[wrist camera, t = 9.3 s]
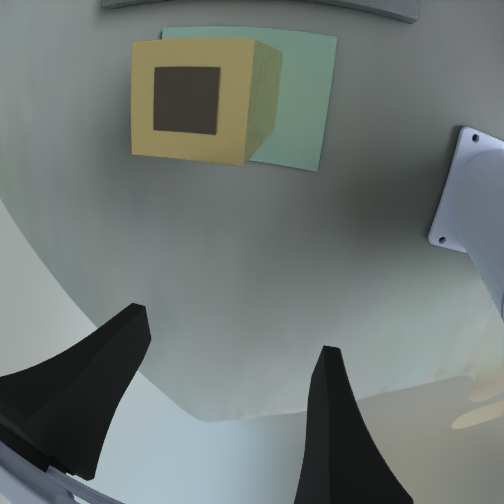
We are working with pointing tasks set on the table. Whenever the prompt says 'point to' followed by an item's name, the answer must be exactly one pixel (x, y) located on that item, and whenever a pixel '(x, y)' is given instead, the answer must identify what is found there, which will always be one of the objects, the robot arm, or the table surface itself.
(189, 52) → the tan box
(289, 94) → the mat
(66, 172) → the table surface
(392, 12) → the grey slotted base board
